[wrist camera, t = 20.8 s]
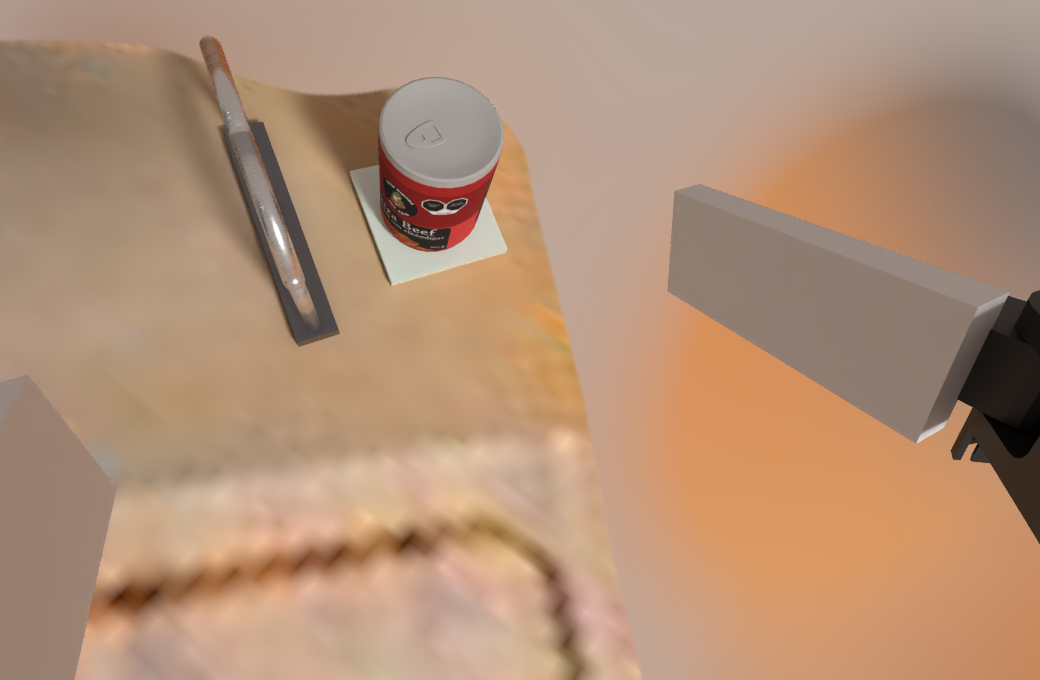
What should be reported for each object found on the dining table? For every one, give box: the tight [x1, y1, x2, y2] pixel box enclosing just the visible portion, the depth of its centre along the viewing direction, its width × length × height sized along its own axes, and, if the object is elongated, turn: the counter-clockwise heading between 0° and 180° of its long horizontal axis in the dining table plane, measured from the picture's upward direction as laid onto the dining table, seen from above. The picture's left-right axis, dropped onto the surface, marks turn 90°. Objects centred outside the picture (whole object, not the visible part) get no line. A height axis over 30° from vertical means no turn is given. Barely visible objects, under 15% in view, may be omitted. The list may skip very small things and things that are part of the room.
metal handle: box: [200, 36, 340, 347], centre depth 35 cm, size 3×18×13 cm, turn 23°
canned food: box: [378, 77, 504, 252], centre depth 38 cm, size 8×8×11 cm
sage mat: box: [350, 165, 507, 286], centre depth 44 cm, size 10×10×1 cm
